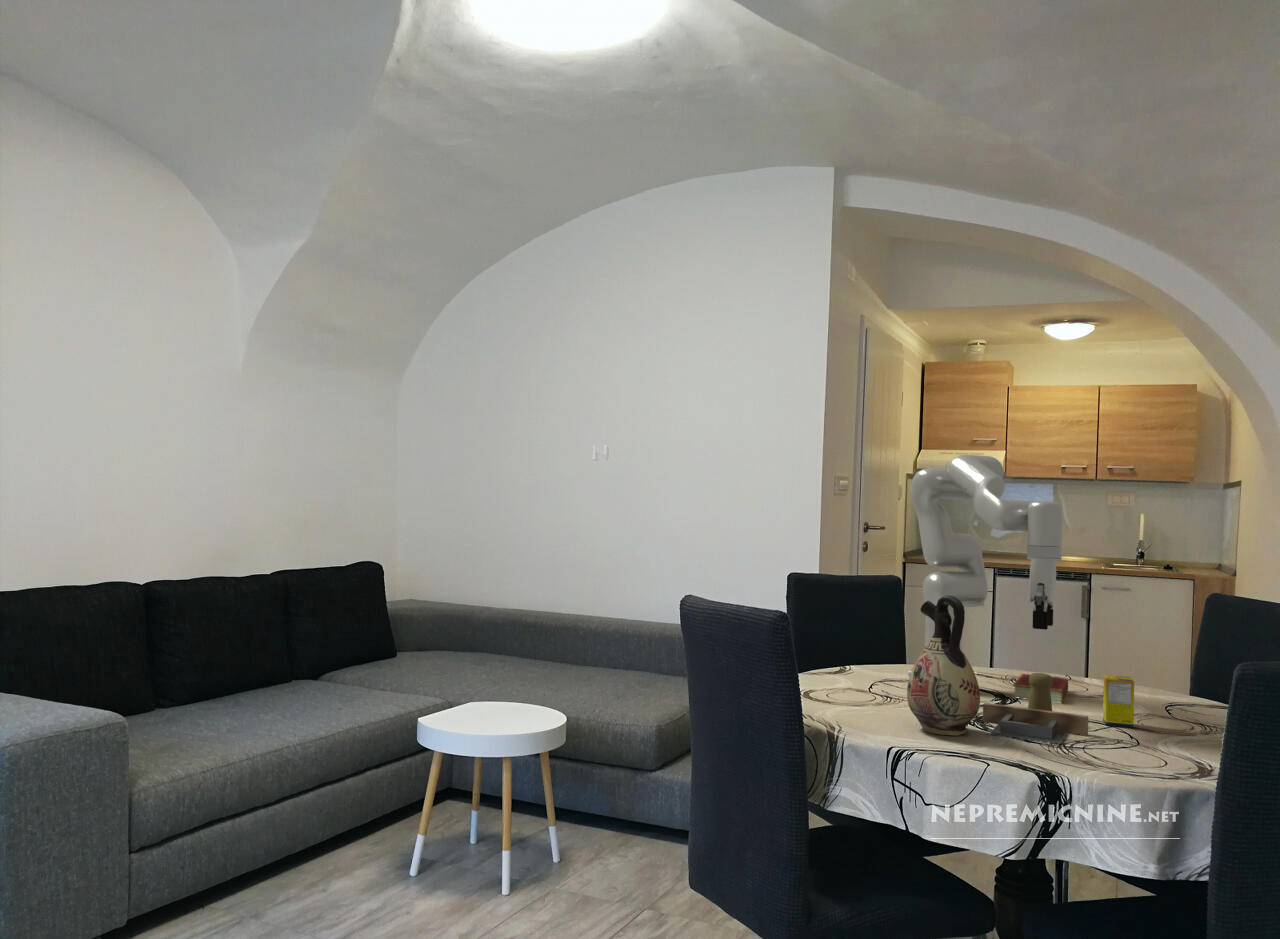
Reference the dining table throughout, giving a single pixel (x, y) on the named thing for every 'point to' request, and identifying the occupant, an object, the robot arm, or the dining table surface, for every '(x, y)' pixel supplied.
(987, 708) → the door edge rail
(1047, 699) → the cork
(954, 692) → the ceramic jug
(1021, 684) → the hardcover book
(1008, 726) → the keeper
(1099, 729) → the dining table surface
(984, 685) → the dining table surface
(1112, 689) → the supplement box
